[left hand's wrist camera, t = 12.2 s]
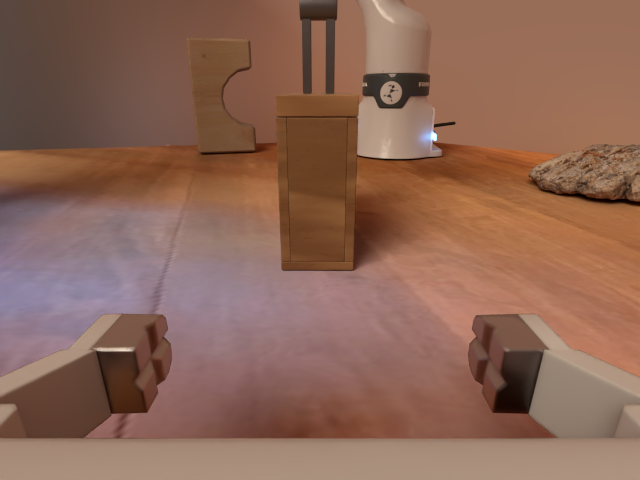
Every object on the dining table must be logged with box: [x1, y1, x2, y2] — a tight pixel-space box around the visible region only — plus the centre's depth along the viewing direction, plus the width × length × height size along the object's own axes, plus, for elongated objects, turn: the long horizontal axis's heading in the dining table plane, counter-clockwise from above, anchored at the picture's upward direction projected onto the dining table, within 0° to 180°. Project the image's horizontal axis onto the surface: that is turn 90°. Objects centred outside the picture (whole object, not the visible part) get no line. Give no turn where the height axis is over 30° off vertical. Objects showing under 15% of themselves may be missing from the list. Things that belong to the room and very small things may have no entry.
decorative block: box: [187, 38, 256, 154], centre depth 76 cm, size 11×6×20 cm, turn 103°
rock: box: [529, 144, 640, 201], centre depth 47 cm, size 15×10×6 cm
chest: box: [276, 117, 358, 270], centre depth 32 cm, size 14×5×10 cm, turn 0°
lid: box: [275, 0, 359, 117], centre depth 29 cm, size 14×5×9 cm, turn 0°
